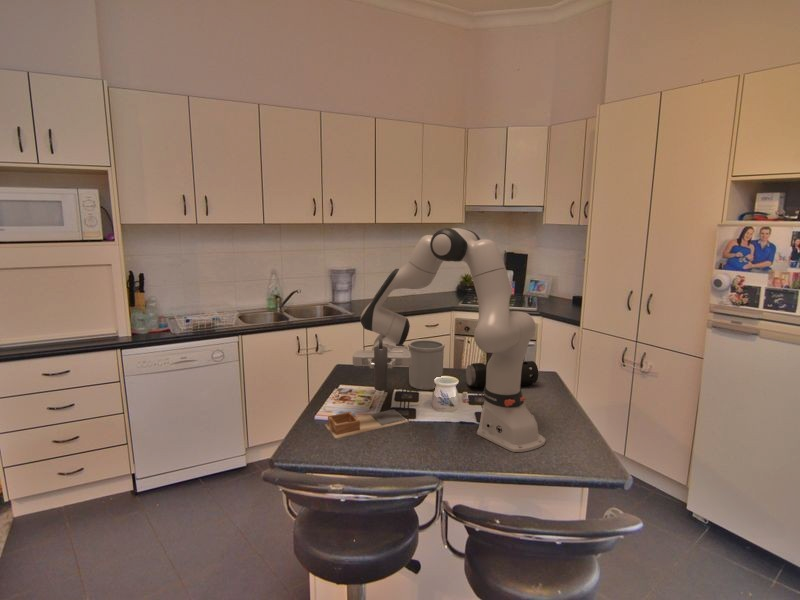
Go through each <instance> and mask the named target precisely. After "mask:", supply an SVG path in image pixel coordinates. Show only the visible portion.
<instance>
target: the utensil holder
mask: <svg viewBox="0 0 800 600" xmlns="http://www.w3.org/2000/svg"><path fill="white" fill-rule="evenodd" d="M407 346H408V350H409V351H410V352H411V360H412V362H411V366H409V367H408V377H409V378H408V381H409V386H410V387H412V388H414V389H417V390H425V391H427V390H428V391H429V390H430V391H431V390H435V389H434V388H435V384H434V379H435V378H436V377H441V376H444V353H445V352H444V351H445V343H444V342H443V341H441V340H437V339H433V338H432V339H429V338H422V339H421V338H420V339H418V338H417V339H413V340H410V341H409V342H408V344H407Z"/></svg>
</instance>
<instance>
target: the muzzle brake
mask: <svg viewBox="0 0 800 600" xmlns="http://www.w3.org/2000/svg"><path fill="white" fill-rule="evenodd" d="M486 369H487V363H483V362H475V363H471V364H469V365H467V366H466V369H465V377H466V378H465V379H466V383H467V385H468V386H472V387H475V388H479V387H480V388H481V387H482V388H483V389H484V387H485V386H486ZM538 378H539V369H538V364H537V363H536V362H535V361H534V360H527V361H526V360H524V361H523V365H522V371H521V384H520V386H526V385H527V386H528V385H530V386H531V385H533V384H535V383H537V381H538Z"/></svg>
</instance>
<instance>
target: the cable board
mask: <svg viewBox="0 0 800 600" xmlns="http://www.w3.org/2000/svg"><path fill="white" fill-rule="evenodd" d="M404 423H407V424H408V425H410V421H409V420H408V419H407V418H405V417H404V416H403V415H402V414H401V413H400V412H398V411H397V410H396V409H394V408H393V409H387V410H384V411H379V412H374V413H369V414H364V415H360V416H355V414H354V413H353V412H352V411H347V412H342V413H338V414H333V415H328V416H327V423H324V424H323V425H324V426H325V427H326V428H327V430H328V431H329V432H330V434H331V435H332V436H333V437H334V439H340V438H346V437H350V436H353V435H357V434H362V433H367V432H371V431H375V430H379V429H383V428H387V427H388V428H389V427H391V426H396V425H401V424H404Z"/></svg>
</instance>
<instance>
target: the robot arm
mask: <svg viewBox="0 0 800 600" xmlns="http://www.w3.org/2000/svg"><path fill="white" fill-rule="evenodd" d="M443 262H454V263H455V262H456V263H457V262H464V263H465V264H466V265H467V266H468V268H469V270H470V275H471V279H472V281H473V283H472V284H473V286H474V289H475V294H476V296H477V297H476V298H477V302H478V320H477V325H476V327H475V329H474V331H473V332H474V333H473V339H474V342H475V345H476V346H477V347H478V349H479V350H480V351H482V352H484V353H488V354H489V353H490V354H491V356H490V358H489V359H488V362H486V364H487V369H486V386H485V387H484V388H483V399H484V402H483V405H482V408H481V414H480V420H479V424H478V429H477V430H476V435H478V436H480V437H481V438H484V439H486V440H487V441H490V442H492V443H494V444H496V445H497V446H499V447H502V448H504V449H506V450H508V451H510V452H513V453H514V452H515V453H523V452H528V451H529V452H530V451H533V450H537V449H539V448H542V447H543V445H545V444H546V441H547V440H546V438H545V437H544V436H542V435H541V433H539V427H538V423H537V421H536V417H535V415H533V414H531V412H530V411H529V409H528V407H526V405H525V403H524V402H525V401H526V400H527V399H526V398H527V397H526V396H523V393H522V389H521V385H520V384H521V371H522V365H523V361H525V357H526V353H527V350H528V347H529V344H530V341H531V340H532V338H533V336H534V335H535V332H536V323H535V322H536V321H535V320H534V318H533V317H532V315H531V314H529V313H527V312H525V311H517V310H516V311H514V310H513V311H510V300H511V296H512V294H513V288H512V286H511V283H510V279H509V275H508V272H507V268H506V265H505V262H504V259H503V257H502V254H501V252H500V250H499V248H498V246H497V245H496V243H495V241H493V240H491V239H489V238H488V239H486V238H484V239H481V237H480V236H479V235H478V234H477V233H476V232H474V231H473V230H470V229H463V228H460V227H452V228H451V227H445V228H442V229H441V228H440V229H439V230H437V231H436V232H435V233H434V234H433V235H432V234H427V235H423V236H422V237H421V238H420V239H419V241H418V242H417V244H416V245H415V247H414V248H413V250H412V252H411V253H410V256H409V258H408V260H407V261H406V263H405V264H404V265H402V266H401V267H400V268H395V269H394V270H392V271H391V272H390V274H389V275H388V276H387V278H386V279H385V280H384V282H383V284H382V285H381V286H380V287H379V289H378V290H377V291H376V294H375V295H374V296H373V298H372V300H371V301H370V302H369V303H368V304H367V305H366V306H365V308H364V309H363V310H362V312H361V314H360V318H359V321H360V322H359V323H360V324H361V325H362V328H363V329H364V330H367V331H370V332H374V333H376V334H378V336H377V337H376V338H375V340H374V342H373V344H372V345H373V346H372V349H371V350H366V349H363V350H357V351H356V352H354V353H353V355H352V365H353V366H355V367H369V369H374V348H375V347H377V346H379V339H383V346H385V347H387V349H388V363H387V369H389V370H390V369H393V368H394V367H399V368H401V367H402V368H403V367H405V368H406V367H407V368H409V366H411V362H412V360H411V352H410V351H409V347H408V344H407V345H406V344H404V343H405V342H406V340H407V337H408V336H409V332H410V327H411V325H410V322H409V319H408V317H406V316H404V315H402V314H399V313H396V312H394V311H392V310H391V309H387V308H385V307H384V306H383V304H384V302H385V301H387V300H386V299H387V298H388V297H389V295H390V294H391V293H392V292H393V291H395V290H400V289H408V290H421V289H425V288H427V287H428V286H430V285H431V284H432V282H433V280H434V279H435V277H436V275H437V273H438V271H439V269H440V267H441V264H442V263H443Z"/></svg>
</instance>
